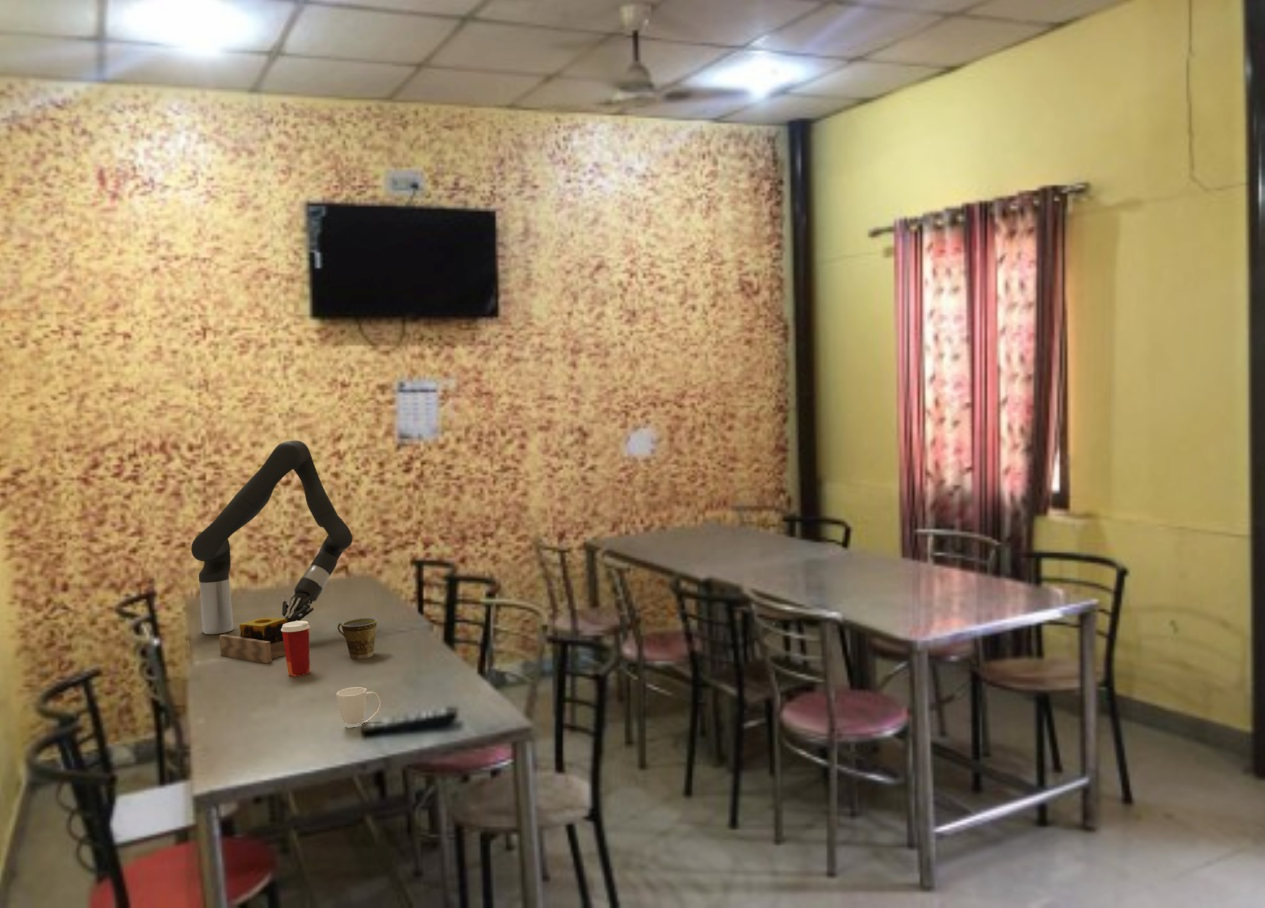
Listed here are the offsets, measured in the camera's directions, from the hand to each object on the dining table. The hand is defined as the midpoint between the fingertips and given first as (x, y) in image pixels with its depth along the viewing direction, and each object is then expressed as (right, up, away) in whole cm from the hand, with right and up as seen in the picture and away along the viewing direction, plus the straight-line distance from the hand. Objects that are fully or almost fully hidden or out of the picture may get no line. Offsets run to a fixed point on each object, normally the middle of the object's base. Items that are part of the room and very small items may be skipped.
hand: (282, 630), depth 317 cm
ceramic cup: (+27, -5, -14) cm, 31 cm away
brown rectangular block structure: (-5, -6, -7) cm, 11 cm away
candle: (-3, -6, -6) cm, 9 cm away
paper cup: (+15, -7, -30) cm, 34 cm away
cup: (+44, -9, -76) cm, 88 cm away
